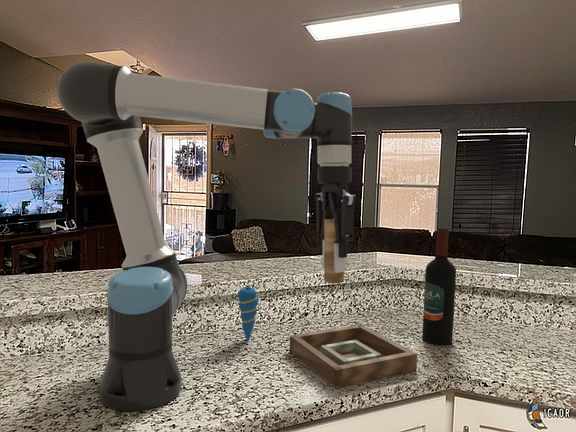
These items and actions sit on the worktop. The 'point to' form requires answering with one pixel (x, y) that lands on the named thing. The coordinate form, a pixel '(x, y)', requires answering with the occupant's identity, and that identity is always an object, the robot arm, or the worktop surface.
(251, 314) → the ornament
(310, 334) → the box
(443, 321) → the wine bottle
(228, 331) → the worktop surface
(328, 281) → the peg
